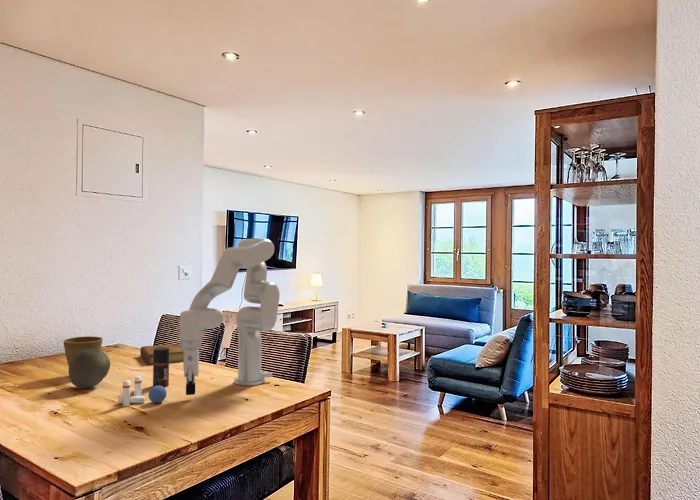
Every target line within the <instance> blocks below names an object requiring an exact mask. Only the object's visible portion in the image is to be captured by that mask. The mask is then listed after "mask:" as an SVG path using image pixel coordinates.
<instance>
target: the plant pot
mask: <svg viewBox="0 0 700 500" xmlns="http://www.w3.org/2000/svg"><path fill="white" fill-rule="evenodd" d="M103 340H104V339H103V337H101V336H75V337H69V338H66V339H63V348H64V353H65V359H66V362H67V365H68V367H69V366H70V364H71V361H72V360H73V358H74V357H75V356H76V355H77V354H78V353H79V352H81V351H84V350H87V349H96V350H100V351H102V345H103Z"/></svg>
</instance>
